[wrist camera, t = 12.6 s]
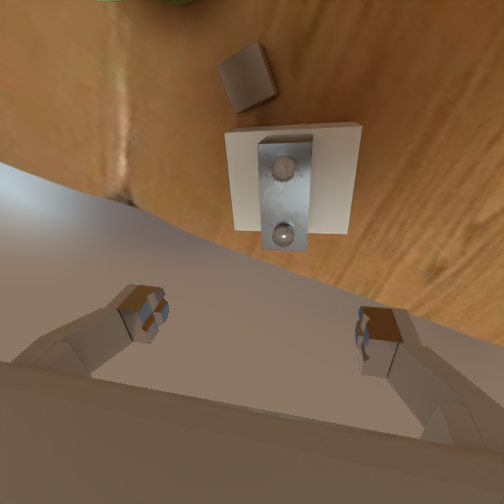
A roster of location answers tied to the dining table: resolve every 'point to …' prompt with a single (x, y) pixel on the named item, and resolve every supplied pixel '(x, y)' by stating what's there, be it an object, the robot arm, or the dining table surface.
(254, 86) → the walnut block
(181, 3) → the plant pot
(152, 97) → the dining table surface
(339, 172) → the stand
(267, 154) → the block
